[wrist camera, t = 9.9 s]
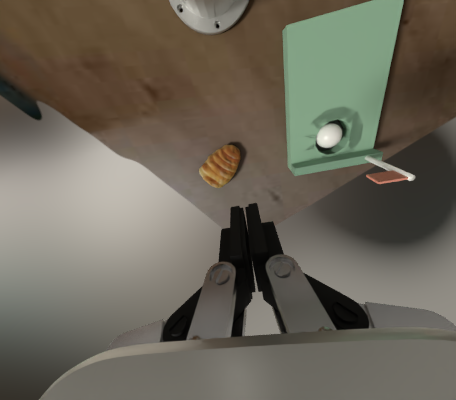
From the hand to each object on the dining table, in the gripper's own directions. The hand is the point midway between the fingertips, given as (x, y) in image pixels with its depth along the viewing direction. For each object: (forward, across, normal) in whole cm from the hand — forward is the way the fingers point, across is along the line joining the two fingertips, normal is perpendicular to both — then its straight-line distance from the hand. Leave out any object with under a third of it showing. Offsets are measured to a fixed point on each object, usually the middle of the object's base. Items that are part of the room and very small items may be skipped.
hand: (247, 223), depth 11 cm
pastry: (+28, +5, +5) cm, 28 cm away
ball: (+25, -16, +2) cm, 30 cm away
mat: (+27, -17, -3) cm, 32 cm away
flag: (+27, -20, +7) cm, 35 cm away
